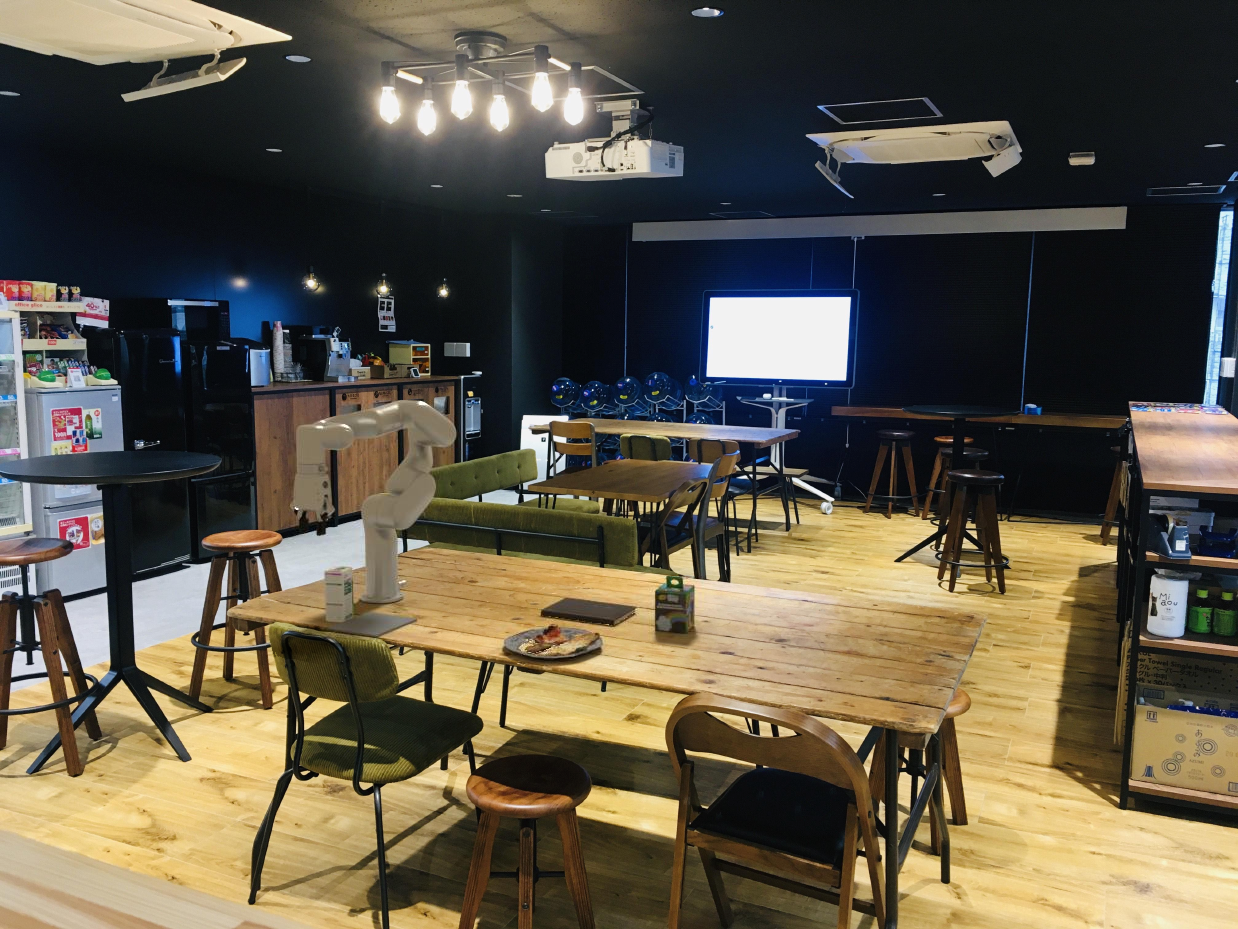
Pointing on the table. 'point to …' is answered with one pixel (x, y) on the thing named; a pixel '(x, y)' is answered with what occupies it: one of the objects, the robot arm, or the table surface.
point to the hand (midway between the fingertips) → (312, 533)
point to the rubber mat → (372, 624)
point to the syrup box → (339, 594)
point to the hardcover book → (588, 611)
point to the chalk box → (674, 606)
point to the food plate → (555, 642)
